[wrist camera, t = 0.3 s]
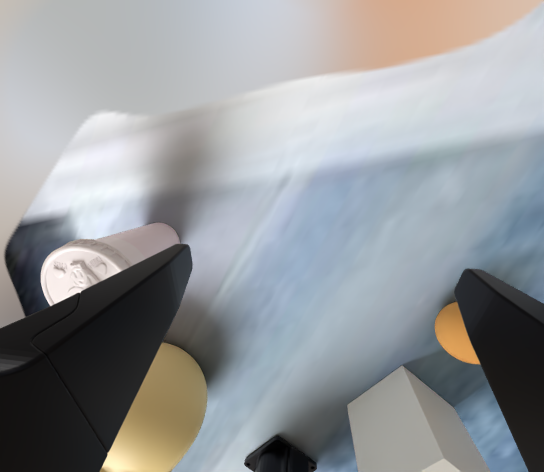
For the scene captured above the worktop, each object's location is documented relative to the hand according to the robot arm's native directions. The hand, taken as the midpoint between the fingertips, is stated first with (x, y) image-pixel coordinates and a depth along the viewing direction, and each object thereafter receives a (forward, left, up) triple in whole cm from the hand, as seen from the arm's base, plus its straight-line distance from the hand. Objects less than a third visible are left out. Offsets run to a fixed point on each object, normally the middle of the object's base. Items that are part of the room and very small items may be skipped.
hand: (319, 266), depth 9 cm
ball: (0, -18, -13) cm, 22 cm away
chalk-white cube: (-11, -23, -15) cm, 29 cm away
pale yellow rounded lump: (-26, -2, -15) cm, 30 cm away
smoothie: (-13, +7, -15) cm, 21 cm away
